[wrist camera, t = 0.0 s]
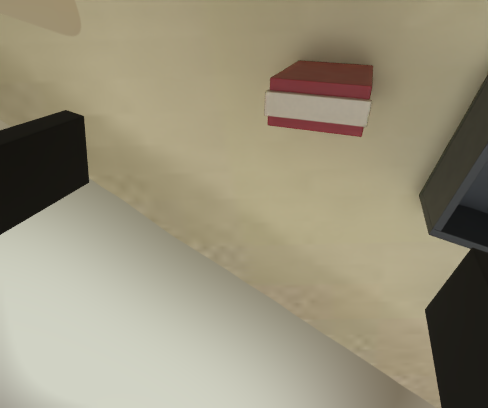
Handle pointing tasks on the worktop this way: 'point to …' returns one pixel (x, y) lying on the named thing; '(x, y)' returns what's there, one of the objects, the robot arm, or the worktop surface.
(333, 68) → the block
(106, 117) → the worktop surface
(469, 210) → the bin
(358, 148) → the worktop surface
